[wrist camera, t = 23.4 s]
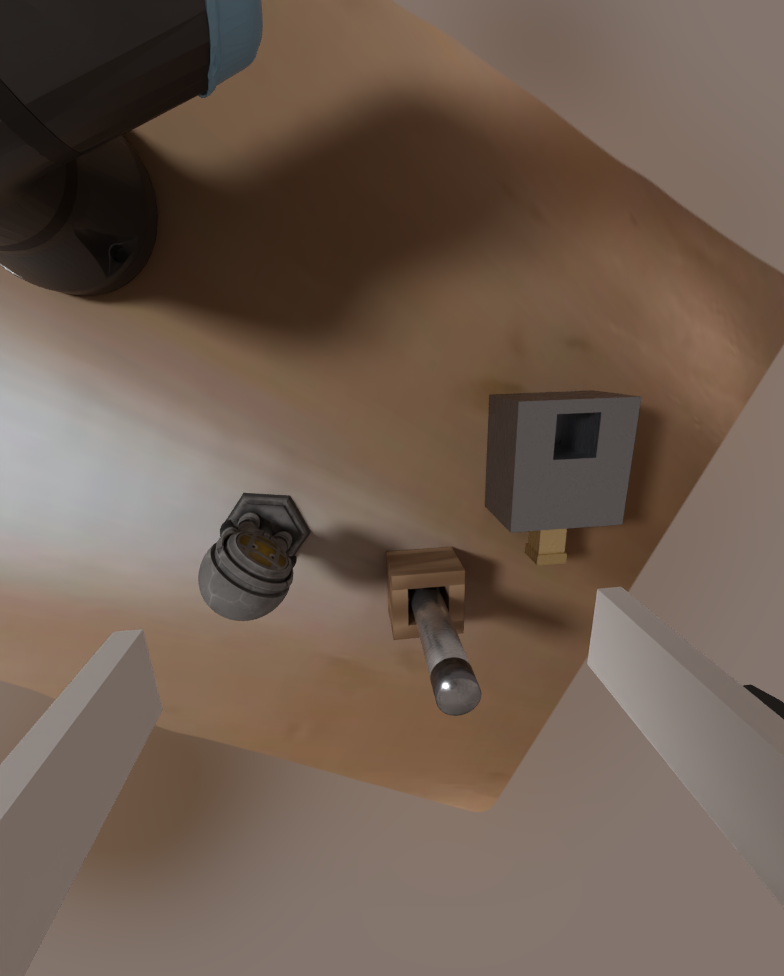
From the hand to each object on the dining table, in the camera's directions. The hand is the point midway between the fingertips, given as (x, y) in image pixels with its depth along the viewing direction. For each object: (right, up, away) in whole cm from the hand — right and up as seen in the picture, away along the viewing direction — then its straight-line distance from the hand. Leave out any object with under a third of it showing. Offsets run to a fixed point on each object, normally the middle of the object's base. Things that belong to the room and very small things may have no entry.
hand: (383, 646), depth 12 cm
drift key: (+18, +1, +36) cm, 40 cm away
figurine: (-14, 0, +35) cm, 38 cm away
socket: (+17, +9, +36) cm, 41 cm away
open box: (+4, -7, +39) cm, 40 cm away
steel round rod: (+4, -7, +38) cm, 39 cm away
